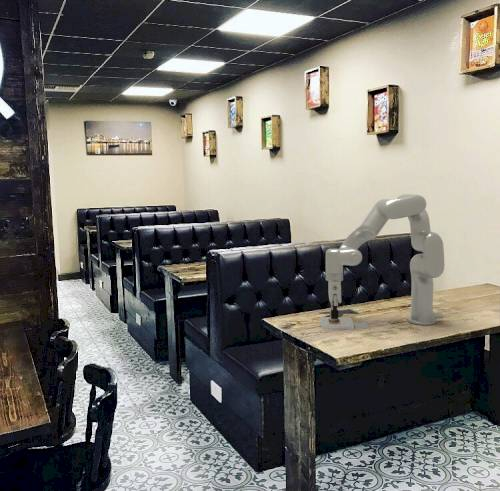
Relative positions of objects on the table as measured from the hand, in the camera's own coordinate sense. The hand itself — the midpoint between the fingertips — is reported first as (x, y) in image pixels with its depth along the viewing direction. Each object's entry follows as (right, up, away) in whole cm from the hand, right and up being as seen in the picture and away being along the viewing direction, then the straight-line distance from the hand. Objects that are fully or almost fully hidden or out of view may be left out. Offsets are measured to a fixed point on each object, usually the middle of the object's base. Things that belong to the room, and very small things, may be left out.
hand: (334, 316), depth 226 cm
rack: (+4, -5, 0) cm, 7 cm away
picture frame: (+7, -4, +21) cm, 22 cm away
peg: (0, -3, 0) cm, 3 cm away
